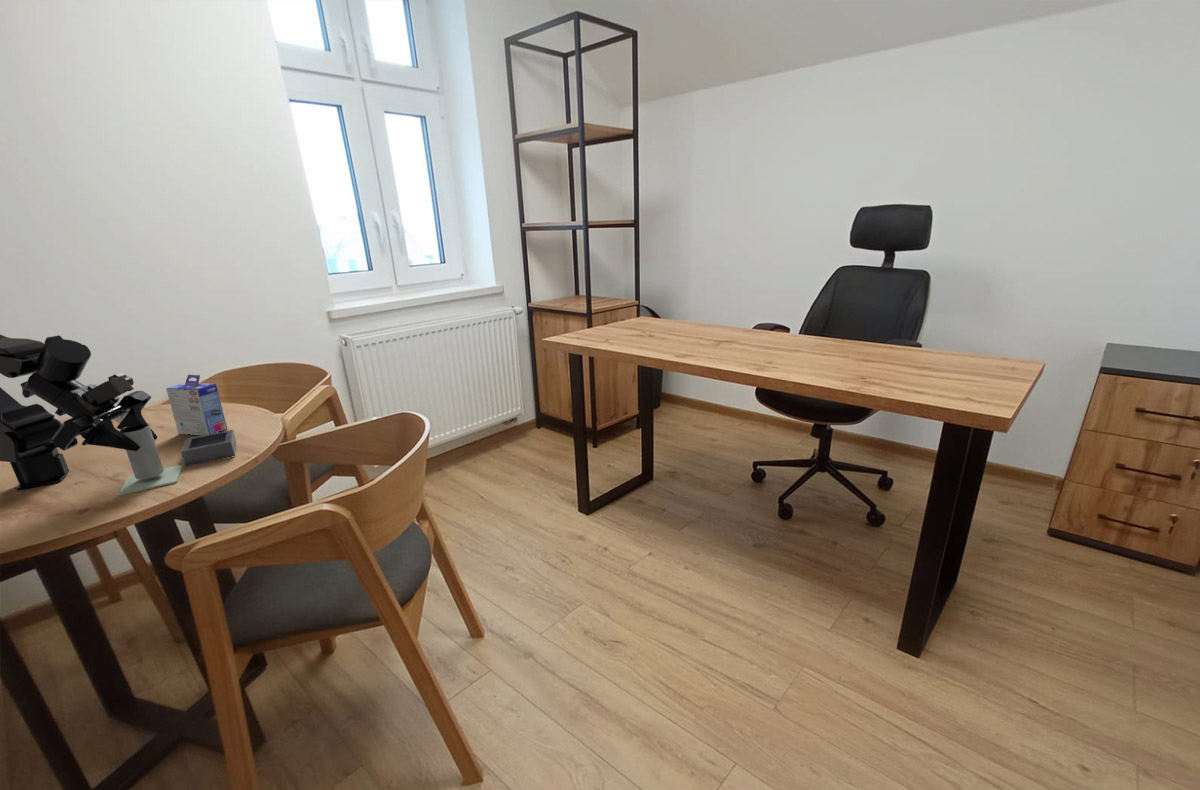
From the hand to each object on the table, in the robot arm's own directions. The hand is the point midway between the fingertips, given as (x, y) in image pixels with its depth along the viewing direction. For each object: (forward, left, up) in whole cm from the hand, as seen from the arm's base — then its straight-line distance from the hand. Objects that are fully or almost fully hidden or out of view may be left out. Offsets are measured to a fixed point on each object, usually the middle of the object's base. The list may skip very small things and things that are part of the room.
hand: (147, 444), depth 104 cm
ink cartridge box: (+5, +28, -8) cm, 30 cm away
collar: (+8, +9, -8) cm, 15 cm away
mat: (-1, 0, -8) cm, 8 cm away
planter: (-1, +1, -7) cm, 7 cm away
